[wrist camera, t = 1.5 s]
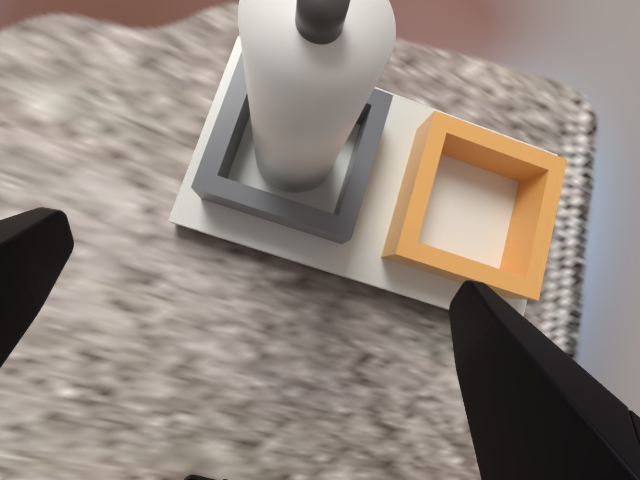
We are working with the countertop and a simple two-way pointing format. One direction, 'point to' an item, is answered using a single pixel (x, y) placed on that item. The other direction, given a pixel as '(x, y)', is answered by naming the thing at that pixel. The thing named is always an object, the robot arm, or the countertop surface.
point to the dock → (384, 199)
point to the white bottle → (310, 80)
